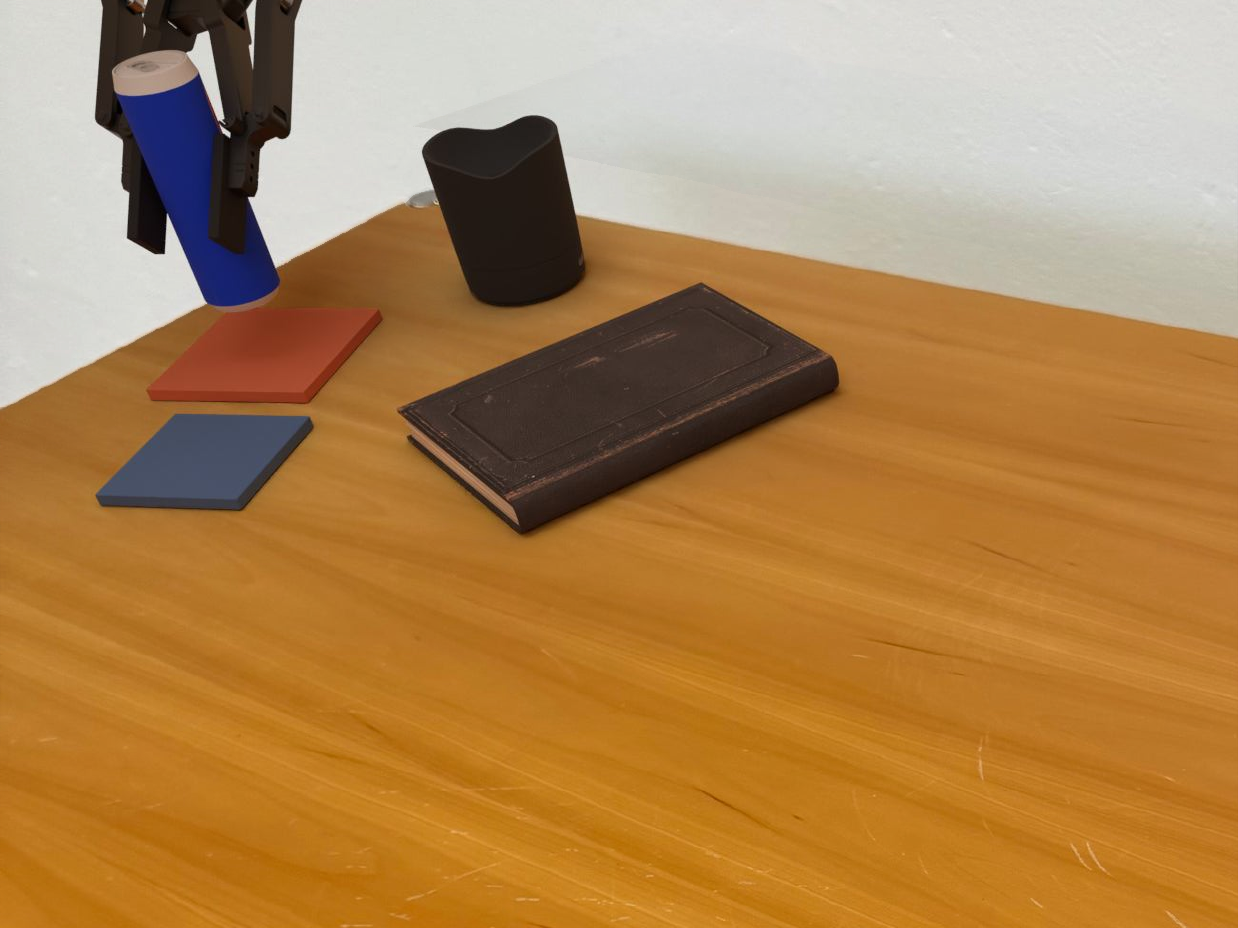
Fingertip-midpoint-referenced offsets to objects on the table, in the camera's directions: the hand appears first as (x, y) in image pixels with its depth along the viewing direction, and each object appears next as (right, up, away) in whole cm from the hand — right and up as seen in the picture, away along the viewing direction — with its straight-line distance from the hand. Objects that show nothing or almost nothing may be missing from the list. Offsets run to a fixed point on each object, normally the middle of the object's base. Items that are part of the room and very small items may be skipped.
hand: (186, 245), depth 105 cm
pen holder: (+19, +3, +14) cm, 24 cm away
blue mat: (+2, -14, -1) cm, 14 cm away
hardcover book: (+28, -12, -1) cm, 31 cm away
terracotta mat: (+2, -4, +9) cm, 10 cm away
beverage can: (+1, -1, +6) cm, 7 cm away
